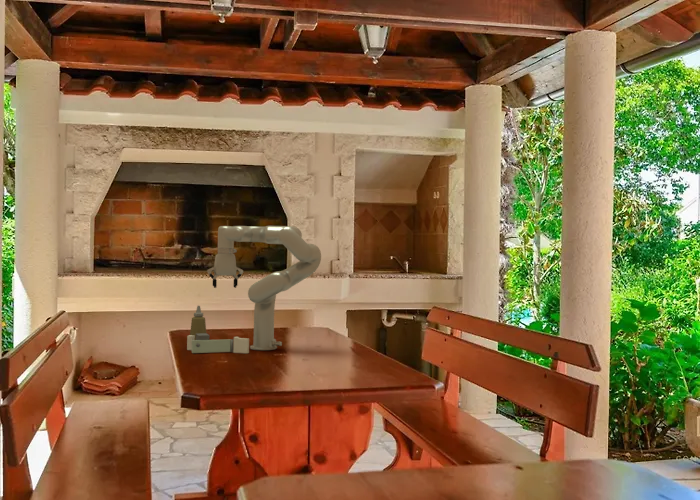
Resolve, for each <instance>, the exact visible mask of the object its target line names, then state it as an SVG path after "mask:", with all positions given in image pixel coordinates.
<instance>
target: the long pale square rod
mask: <svg viewBox="0 0 700 500" xmlns="http://www.w3.org/2000/svg"><path fill="white" fill-rule="evenodd" d="M233 348H234V338H232V339H229V338H228V339H227V338H226V339H209V340H192V350H191V354H209V353H233Z"/></svg>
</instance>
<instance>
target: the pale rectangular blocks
mask: <svg viewBox="0 0 700 500" xmlns="http://www.w3.org/2000/svg"><path fill="white" fill-rule="evenodd" d="M186 338H187V340H186V344H187V345H186V350H187V351H192V340H194V338H195V336H194V335H190V334H189V335H187V336H186ZM232 353H233V354H249V353H250V338H246V337H245V338H244V337H240V336H233V352H232Z"/></svg>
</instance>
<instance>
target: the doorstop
mask: <svg viewBox="0 0 700 500" xmlns="http://www.w3.org/2000/svg"><path fill="white" fill-rule="evenodd" d="M210 337H211V336H210V334H208V333H207V332H206V333H199V334H196V340H210Z"/></svg>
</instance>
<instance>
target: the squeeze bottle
mask: <svg viewBox="0 0 700 500" xmlns="http://www.w3.org/2000/svg"><path fill="white" fill-rule="evenodd" d="M201 309H202V308H201V305H197V306H196V310H195V312H193V317H191V323H190V324H191V325H190V332H189V335H194V336H195V338H194V340H196V334H199V333H207V324H206V317H204V312H202V310H201Z"/></svg>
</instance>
